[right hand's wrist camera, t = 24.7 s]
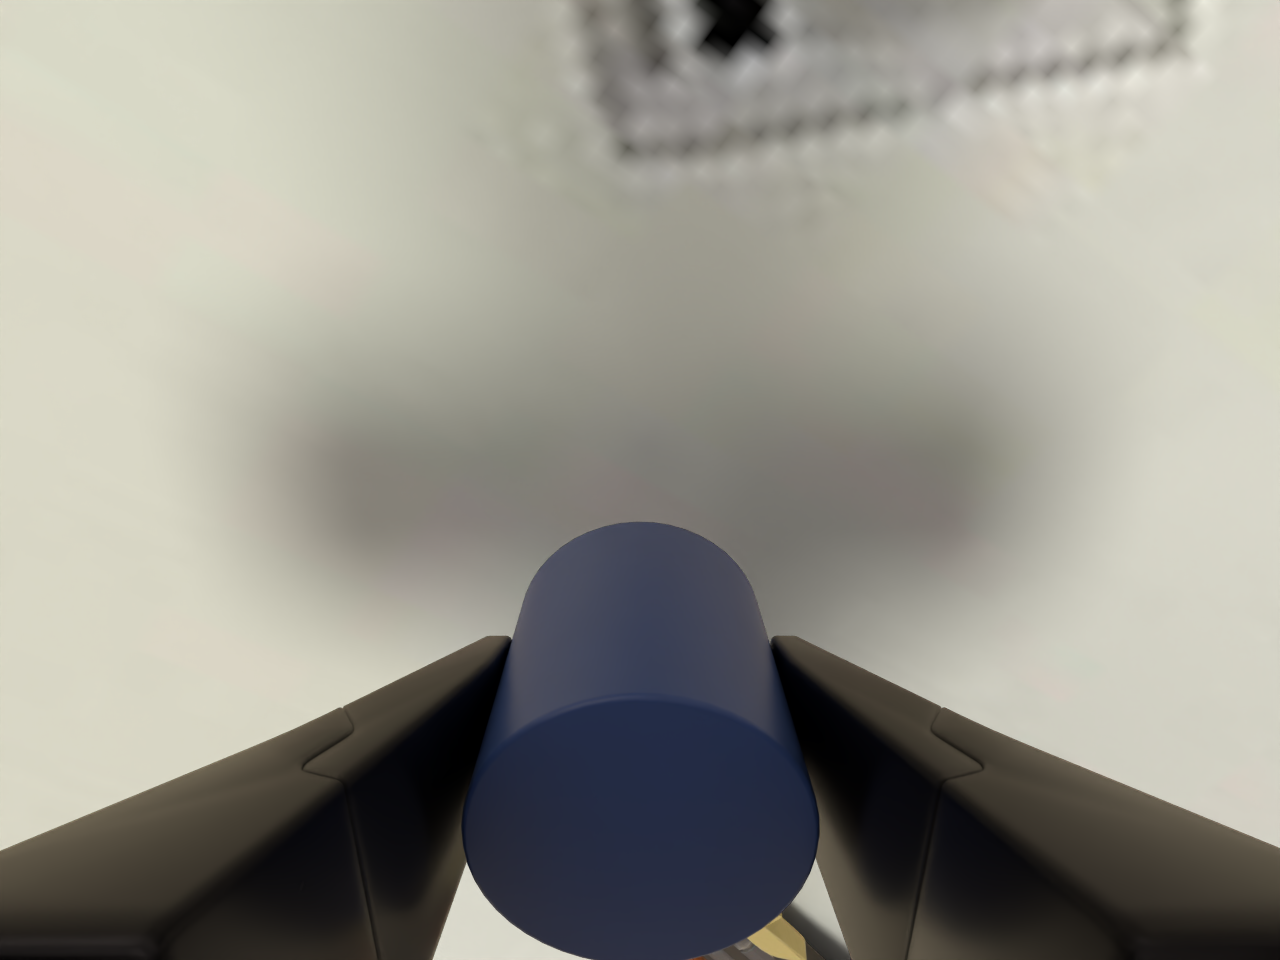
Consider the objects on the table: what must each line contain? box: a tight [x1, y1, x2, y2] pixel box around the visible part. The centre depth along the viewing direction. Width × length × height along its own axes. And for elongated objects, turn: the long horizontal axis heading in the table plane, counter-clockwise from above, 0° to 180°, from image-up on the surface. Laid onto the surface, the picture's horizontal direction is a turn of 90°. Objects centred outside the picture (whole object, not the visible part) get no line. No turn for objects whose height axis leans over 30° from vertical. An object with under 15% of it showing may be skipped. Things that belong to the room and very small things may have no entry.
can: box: [461, 522, 820, 960], centre depth 10 cm, size 4×4×5 cm
